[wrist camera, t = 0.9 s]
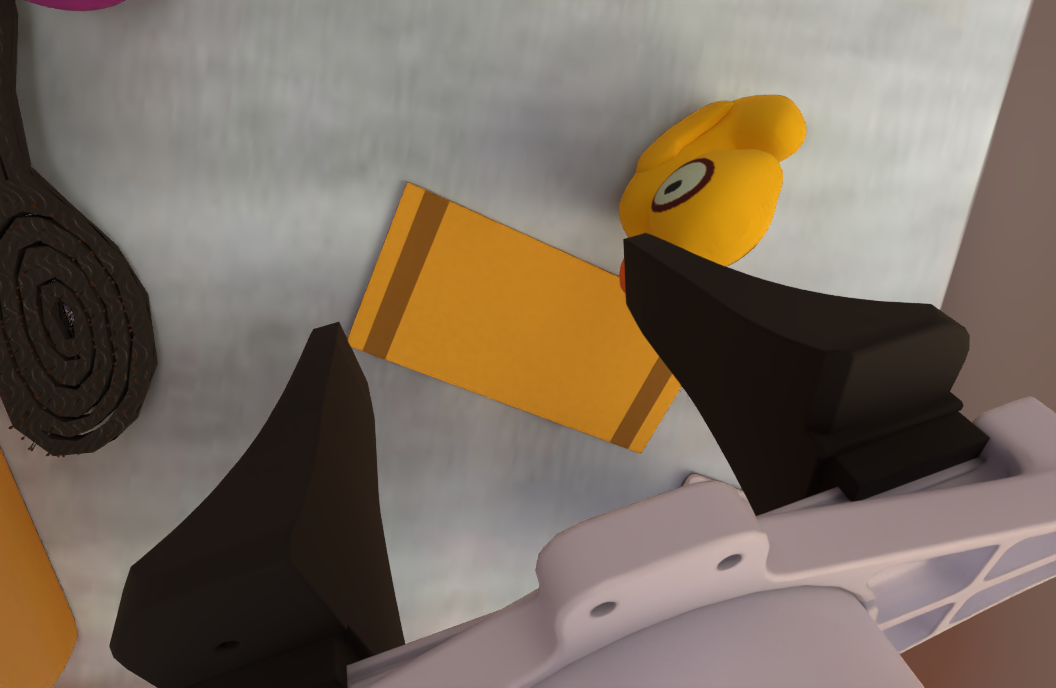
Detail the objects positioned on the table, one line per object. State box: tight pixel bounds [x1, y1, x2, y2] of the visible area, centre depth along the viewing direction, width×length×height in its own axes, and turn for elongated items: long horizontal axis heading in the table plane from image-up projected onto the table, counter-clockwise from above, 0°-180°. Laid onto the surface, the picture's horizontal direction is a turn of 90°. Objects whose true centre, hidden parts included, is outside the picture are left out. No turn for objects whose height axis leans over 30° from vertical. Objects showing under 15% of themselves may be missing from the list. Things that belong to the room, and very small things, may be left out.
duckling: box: [619, 95, 806, 294], centre depth 27 cm, size 11×5×10 cm, turn 132°
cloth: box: [347, 182, 681, 453], centre depth 34 cm, size 20×10×1 cm, turn 65°
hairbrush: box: [0, 0, 157, 457], centre depth 28 cm, size 8×4×25 cm
